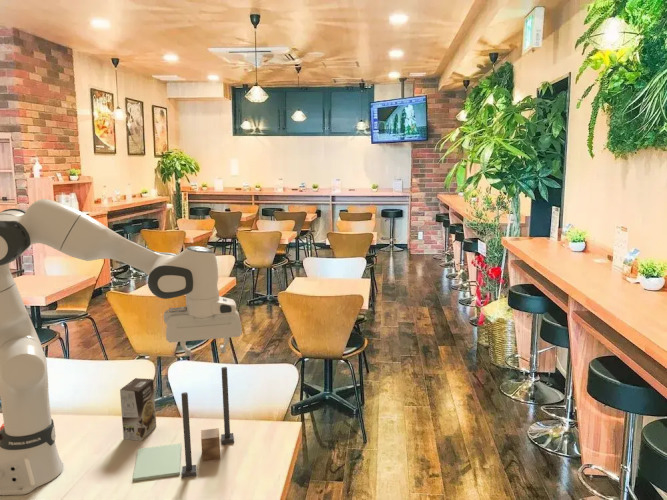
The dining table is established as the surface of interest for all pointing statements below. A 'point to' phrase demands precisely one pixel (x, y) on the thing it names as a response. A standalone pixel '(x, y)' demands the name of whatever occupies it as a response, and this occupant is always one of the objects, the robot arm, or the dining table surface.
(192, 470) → the front cord post
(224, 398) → the post
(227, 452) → the dining table surface
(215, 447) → the walnut block
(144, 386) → the coffee box
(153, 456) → the board
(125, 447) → the dining table surface
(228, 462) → the dining table surface
